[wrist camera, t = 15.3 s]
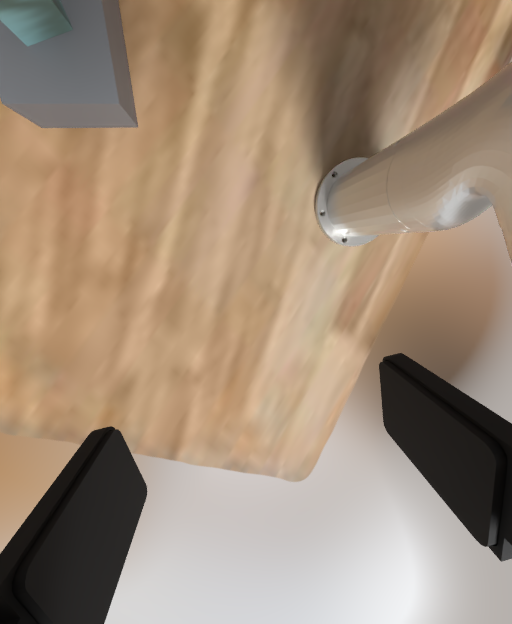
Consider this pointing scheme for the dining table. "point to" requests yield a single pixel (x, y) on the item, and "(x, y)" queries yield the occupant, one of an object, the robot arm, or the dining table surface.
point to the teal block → (34, 19)
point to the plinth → (71, 71)
